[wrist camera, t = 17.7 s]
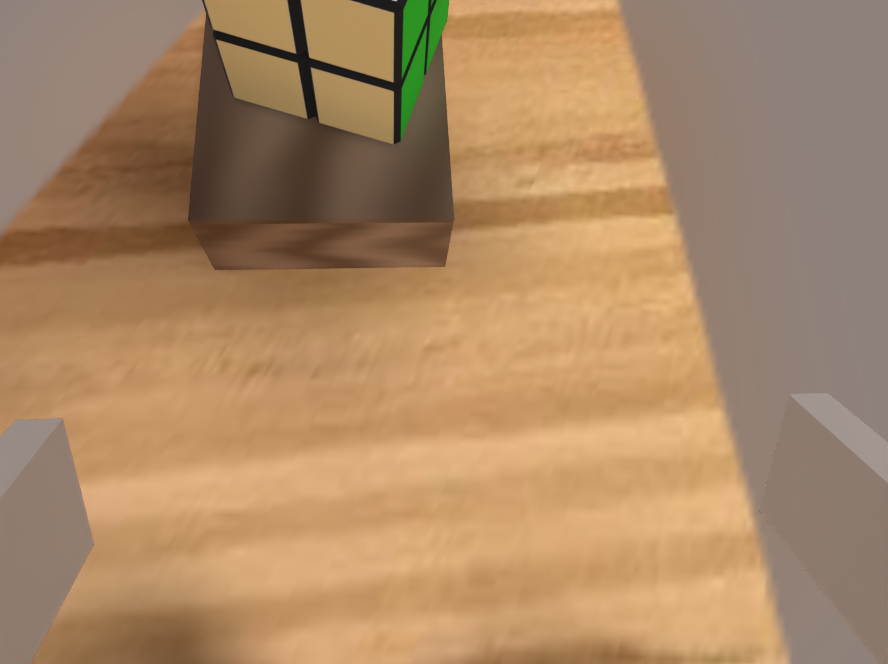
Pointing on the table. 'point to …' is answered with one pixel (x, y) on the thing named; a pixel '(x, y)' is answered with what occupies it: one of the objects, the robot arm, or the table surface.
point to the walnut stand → (318, 183)
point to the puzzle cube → (330, 57)
